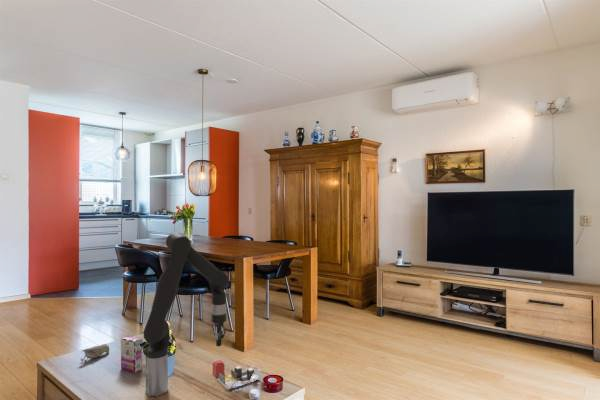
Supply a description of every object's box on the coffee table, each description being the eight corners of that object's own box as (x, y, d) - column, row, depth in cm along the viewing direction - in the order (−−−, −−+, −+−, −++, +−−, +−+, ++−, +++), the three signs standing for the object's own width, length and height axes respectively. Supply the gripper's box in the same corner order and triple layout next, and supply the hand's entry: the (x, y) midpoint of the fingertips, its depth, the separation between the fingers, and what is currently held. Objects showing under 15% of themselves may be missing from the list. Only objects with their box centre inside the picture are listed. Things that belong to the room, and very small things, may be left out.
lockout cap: (216, 377, 189) (216, 364, 189) (212, 374, 193) (212, 361, 193) (224, 374, 192) (224, 362, 192) (220, 371, 196) (220, 359, 196)
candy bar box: (142, 369, 199) (142, 338, 199) (134, 373, 195) (134, 341, 194) (128, 365, 204) (128, 335, 204) (120, 368, 200) (120, 338, 200)
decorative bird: (111, 353, 220) (111, 341, 220) (85, 364, 206) (85, 351, 205) (105, 352, 222) (105, 339, 222) (79, 362, 208) (78, 349, 208)
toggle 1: (237, 376, 187) (237, 369, 187) (234, 374, 189) (234, 366, 189) (241, 375, 188) (241, 367, 188) (239, 373, 190) (239, 365, 190)
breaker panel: (227, 390, 176) (227, 382, 176) (217, 380, 186) (217, 373, 186) (259, 380, 186) (259, 372, 186) (248, 371, 196) (248, 364, 196)
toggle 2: (249, 378, 184) (249, 370, 184) (246, 376, 187) (246, 368, 187) (254, 377, 186) (254, 369, 186) (251, 375, 188) (251, 367, 188)
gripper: (231, 314, 189) (230, 348, 190) (221, 307, 200) (220, 340, 201) (216, 316, 185) (216, 351, 185) (207, 309, 196) (207, 343, 196)
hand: (218, 345), depth 193 cm, fingers closed
